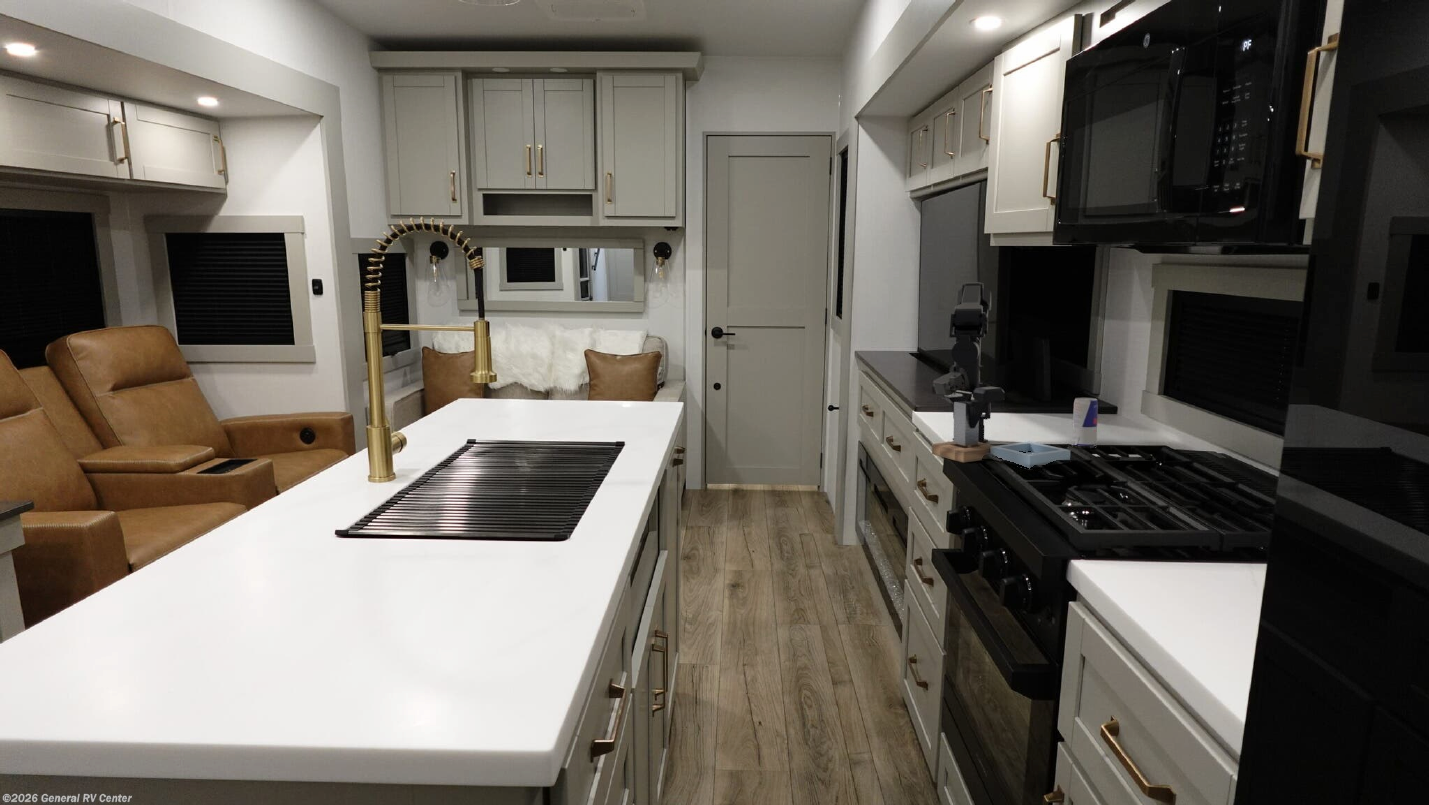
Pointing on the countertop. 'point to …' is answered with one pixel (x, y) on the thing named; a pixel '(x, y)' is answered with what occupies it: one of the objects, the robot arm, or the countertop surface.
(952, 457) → the walnut socket block
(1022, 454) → the blue tray
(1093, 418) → the energy drink
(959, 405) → the gray rectangular block
